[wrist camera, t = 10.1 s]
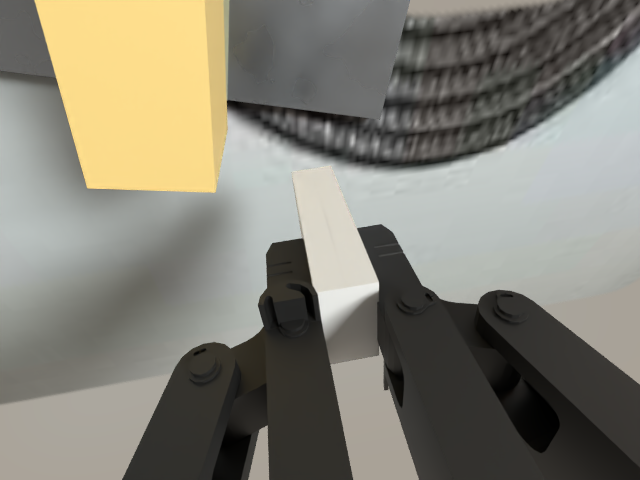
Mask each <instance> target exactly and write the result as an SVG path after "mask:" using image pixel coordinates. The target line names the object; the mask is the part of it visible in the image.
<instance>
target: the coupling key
mask: <svg viewBox="0 0 640 480" xmlns="http://www.w3.org/2000/svg"><path fill="white" fill-rule="evenodd" d="M35 4H36V7H37V11H38V15H39V18H40V22H41V25H42V29H43V32H44V36H45V39H46V43H47V47H48V50H49V54H50V57H51V61H52V64H53V68H54V71H55V75H56V79H57V82H58V86H59V89H60V93H61V96H62V100H63V104H64V107H65V111H66V114H67V118H68V121H69V125H70V128H71V132H72V136H73V139H74V143H75V146H76V150H77V153H78V157H79V160H80V164H81V168H82V171H83V175H84V178H85V182H86V185H87V188H91V189H122V190H153V191H184V192H214V193H216V187H217V182H218V177H219V172H220V166H221V161H222V156H223V150H224V145H225V140H226V135H227V98H226V67H225V36H224V5H223V0H35Z"/></svg>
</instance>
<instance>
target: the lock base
mask: <svg viewBox="0 0 640 480" xmlns="http://www.w3.org/2000/svg"><path fill="white" fill-rule="evenodd" d="M409 2H410V0H223V5H224V36H225V67H226V98H227V100H232V101H239V102H247V103H255V104H263V105H271V106H278V107H286V108H294V109H302V110H309V111H317V112H325V113H333V114H340V115H348V116H356V117H364V118H372V119H379V120H380V117H381V113H382V109H383V105H384V101H385V97H386V93H387V89H388V85H389V81H390V77H391V73H392V69H393V65H394V62H395V58H396V54H397V50H398V46H399V42H400V38H401V34H402V30H403V26H404V22H405V18H406V14H407V10H408V6H409ZM0 71H6V72H14V73H22V74H30V75H37V76H45V77H53V78H56V75H55V71H54V68H53V64H52V61H51V57H50V54H49V50H48V47H47V43H46V39H45V36H44V32H43V29H42V25H41V22H40V18H39V15H38V11H37V7H36V4H35V0H0Z"/></svg>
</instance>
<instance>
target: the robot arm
mask: <svg viewBox="0 0 640 480" xmlns="http://www.w3.org/2000/svg"><path fill="white" fill-rule="evenodd" d="M292 178H293V185H294V191H295V198H296V204H297V210H298V217H299V223H300V230H301V235H302V238H301V239H295V240H289V241H283V242H277V243H272V245H271V246H270V248H269V250H268V252H267V254H266V265H267V289H266V290H265V291H264V293H263V294H262V295H261V296H260V299H259V303H258V307H259V311H260V314H261V318H262V321H263V325H264V327H263V328H262V329H261V331H260V332H259V333H258V334H256V335H255V336H254V337H253V338H251V339H249V340H248V341H246V342H244V343H242V344H240V345H237V346H235V347H233V348H231V349H230V348H229V347H228V346H226V345H225V344H221V343H216V342H213V343H207V344H202V345H200V346H198V347H196V348H193V349H192V350H190V351H189V352H188V353H187V354H185V355H184V356H183V357H182V358H181V360H180V361H179V363H178V364H177V366H176V367H175V369H174V371H173V373H172V375H171V378H170V380H169V382H168V385H167V386H166V388H165V390H164V392H163V394H162V397H161V399H160V401H159V403H158V405H157V407H156V409H155V411H154V414H153V416H152V418H151V420H150V422H149V424H148V426H147V429H146V431H145V433H144V435H143V437H142V439H141V441H140V444H139V445H138V448H137V450H136V452H135V454H134V456H133V458H132V460H131V462H130V464H129V467H128V469H127V471H126V473H125V475H124V477H123V479H122V480H248V477H249V473H250V469H251V464H252V459H253V455H254V451H255V446H256V441H257V437H258V433H259V430H260V429H261V428H263V427H265V426H267V425H268V450H269V480H353V477H352V472H351V466H350V461H349V456H348V451H347V447H346V441H345V436H344V432H343V426H342V421H341V416H340V411H339V406H338V401H337V396H336V391H335V386H334V381H333V376H332V371H331V366H330V364H335V363H340V362H345V361H350V360H356V359H362V358H367V357H373V356H378V355H379V346H380V349H381V352H382V355H383V358H384V390H388V386H389V389H390V392H391V395H392V398H393V401H394V404H395V407H396V410H397V413H398V416H399V419H400V422H401V425H402V429H403V431H404V435H405V438H406V441H407V444H408V447H409V450H410V453H411V456H412V459H413V462H414V465H415V468H416V471H417V474H418V477H419V480H640V385H639V384H638V383H637V382H636V381H634V380H633V379H632V378H630V377H629V376H628V375H627V374H625V373H624V372H623V371H622V370H620V369H619V368H618V367H617V366H615V365H614V364H613V363H611V362H610V361H609V360H608V359H606V358H605V357H604V356H602V355H601V354H600V353H599V352H597V351H596V350H595V349H594V348H592V347H591V346H590V345H588V344H587V343H586V342H585V341H583V340H582V339H581V338H580V337H578V336H577V335H576V334H574V333H573V332H572V331H571V330H569V329H568V328H567V327H565V326H564V325H563V324H562V323H560V322H559V321H558V320H556V319H555V318H554V317H553V316H551V315H550V314H549V313H547V312H546V311H545V310H544V309H543V308H541V307H540V306H539V305H537V304H536V303H535V302H534V301H532V300H530V299H529V298H527V297H525V296H524V295H522V294H519V293H515V292H512V291H505V290H496V291H491V292H488V293H486V294H485V295H483V296H482V297H481V298H480V301H479V303H478V304H465V303H454V302H448V301H444V300H441V299H440V298H439V297H438V296H437V295H436V294H435V293H434V292H433V291H431V290H429V289H428V288H426V287H423V286H422V285H421V283H420V281H419V279H418V278H417V276H416V274H415V272H414V270H413V269H412V267H411V265H410V263H409V261H408V259H407V258H406V256H405V254H404V253H403V250H402V249H401V247H400V245H398V241H397V240H396V238H395V236H394V234H393V232H391V231H390V230H389V229H387V228H386V227H384V226H383V225H381V224H380V225H374V226H368V227H362V228H356V225H355V223H354V221H353V218H352V216H351V213H350V211H349V209H348V206H347V204H346V201H345V199H344V196H343V194H342V192H341V189H340V187H339V184H338V182H337V180H336V177H335V175H334V172H333V170H332V168H331V166H326V167H320V168H313V169H307V170H300V171H293V172H292Z"/></svg>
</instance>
